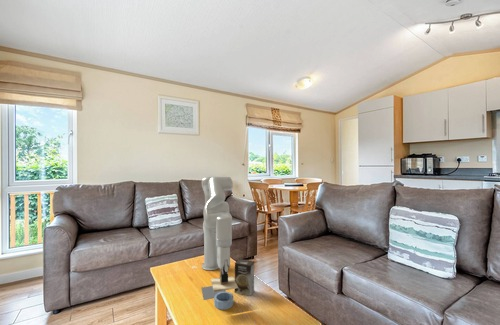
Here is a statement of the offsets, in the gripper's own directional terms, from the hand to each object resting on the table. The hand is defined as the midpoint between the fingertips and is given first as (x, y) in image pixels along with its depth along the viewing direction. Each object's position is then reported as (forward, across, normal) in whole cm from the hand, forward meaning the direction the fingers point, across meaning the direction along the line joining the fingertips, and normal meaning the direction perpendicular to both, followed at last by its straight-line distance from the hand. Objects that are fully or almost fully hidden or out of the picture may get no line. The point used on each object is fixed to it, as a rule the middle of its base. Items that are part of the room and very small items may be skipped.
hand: (223, 279), depth 114 cm
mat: (+12, -12, -3) cm, 18 cm away
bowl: (+12, 0, 0) cm, 12 cm away
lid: (+2, 0, 0) cm, 2 cm away
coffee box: (+13, -8, +13) cm, 20 cm away
